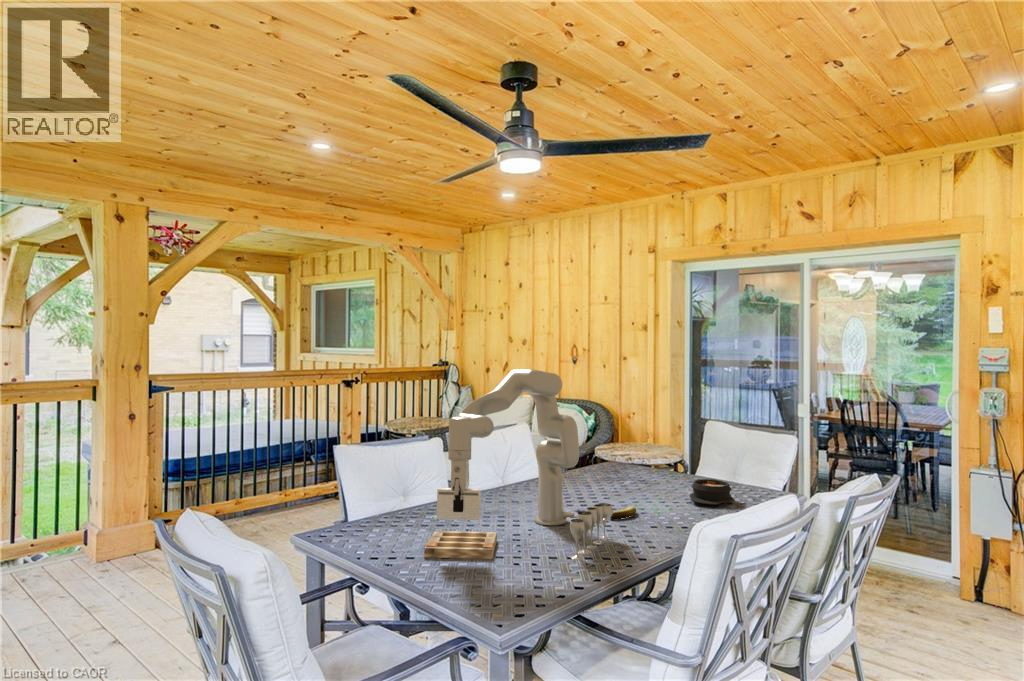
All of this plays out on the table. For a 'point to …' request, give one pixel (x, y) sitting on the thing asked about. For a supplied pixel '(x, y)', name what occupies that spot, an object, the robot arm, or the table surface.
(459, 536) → the rack
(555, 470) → the robot arm
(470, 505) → the blanking panel
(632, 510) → the yellow brown curved block
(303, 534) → the table surface
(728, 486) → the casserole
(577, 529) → the goblet set
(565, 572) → the table surface
